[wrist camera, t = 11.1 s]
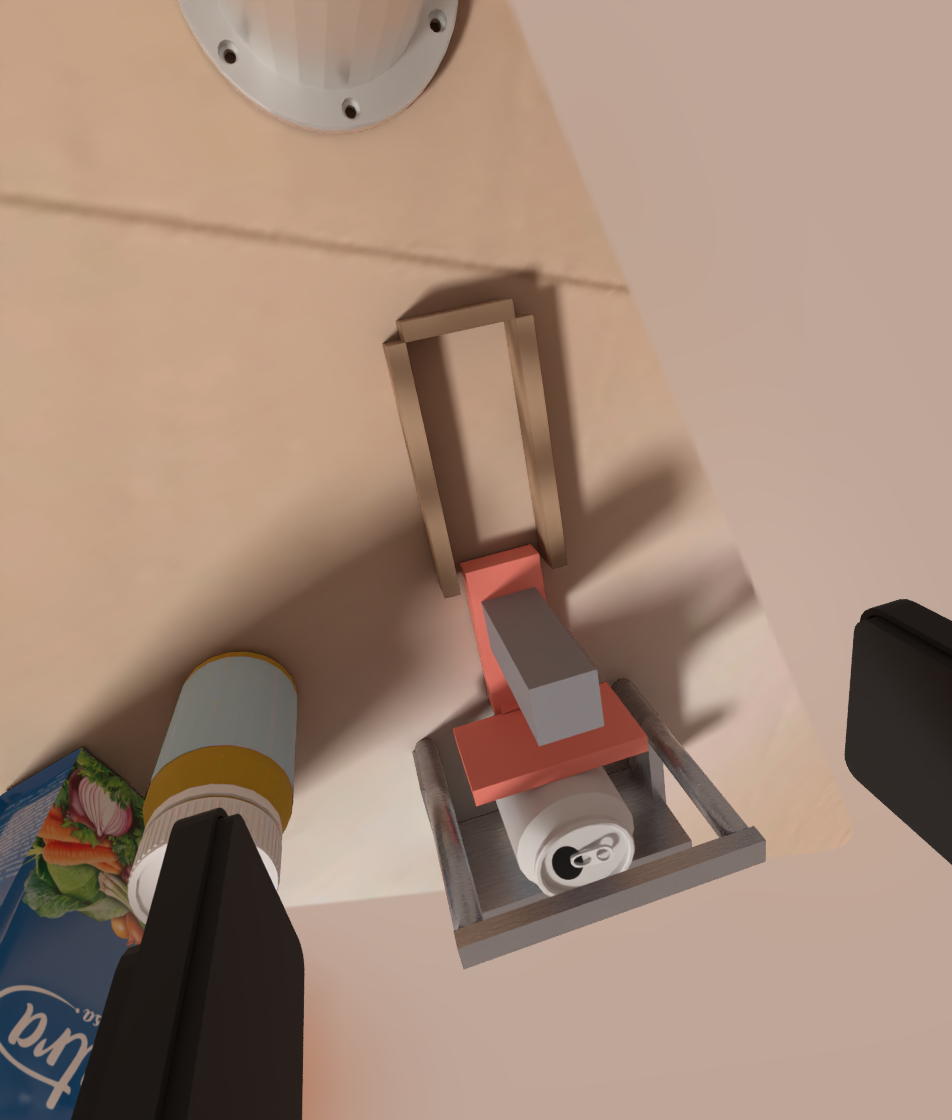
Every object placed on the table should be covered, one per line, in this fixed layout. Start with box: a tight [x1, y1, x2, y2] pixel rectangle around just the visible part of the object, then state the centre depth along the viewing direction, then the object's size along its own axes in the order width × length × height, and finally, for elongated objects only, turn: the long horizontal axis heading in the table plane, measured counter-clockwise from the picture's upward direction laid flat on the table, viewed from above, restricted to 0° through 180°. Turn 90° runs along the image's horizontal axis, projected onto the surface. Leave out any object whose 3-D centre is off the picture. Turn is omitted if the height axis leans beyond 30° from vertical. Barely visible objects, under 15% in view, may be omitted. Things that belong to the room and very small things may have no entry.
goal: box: [413, 679, 766, 969], centre depth 42 cm, size 10×17×16 cm, turn 101°
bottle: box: [128, 652, 297, 925], centre depth 34 cm, size 7×7×15 cm
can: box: [496, 766, 635, 897], centre depth 42 cm, size 8×8×12 cm
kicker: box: [453, 544, 649, 807], centre depth 38 cm, size 12×11×12 cm
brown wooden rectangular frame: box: [383, 299, 567, 599], centre depth 37 cm, size 16×8×2 cm, turn 11°
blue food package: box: [0, 748, 145, 1120], centre depth 31 cm, size 6×12×25 cm, turn 28°
